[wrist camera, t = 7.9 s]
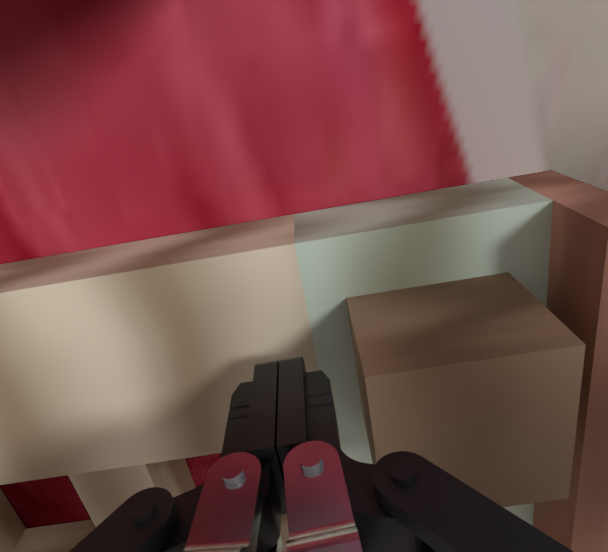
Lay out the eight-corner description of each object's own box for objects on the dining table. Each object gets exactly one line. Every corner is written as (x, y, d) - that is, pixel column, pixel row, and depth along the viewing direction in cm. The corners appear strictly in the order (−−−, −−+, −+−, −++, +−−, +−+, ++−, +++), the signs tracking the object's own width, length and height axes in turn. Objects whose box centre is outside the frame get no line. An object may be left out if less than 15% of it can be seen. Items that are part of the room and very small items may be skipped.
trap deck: (551, 170, 15) (674, 217, 10) (533, 463, 21) (607, 584, 16) (-252, 307, 17) (-480, 405, 12) (-65, 546, 23) (-166, 681, 18)
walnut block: (508, 272, 14) (585, 344, 10) (504, 399, 16) (568, 498, 12) (346, 297, 14) (364, 377, 10) (363, 420, 16) (384, 523, 12)
